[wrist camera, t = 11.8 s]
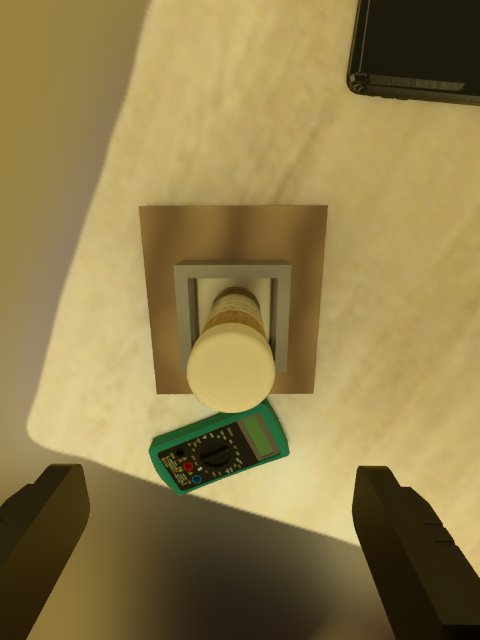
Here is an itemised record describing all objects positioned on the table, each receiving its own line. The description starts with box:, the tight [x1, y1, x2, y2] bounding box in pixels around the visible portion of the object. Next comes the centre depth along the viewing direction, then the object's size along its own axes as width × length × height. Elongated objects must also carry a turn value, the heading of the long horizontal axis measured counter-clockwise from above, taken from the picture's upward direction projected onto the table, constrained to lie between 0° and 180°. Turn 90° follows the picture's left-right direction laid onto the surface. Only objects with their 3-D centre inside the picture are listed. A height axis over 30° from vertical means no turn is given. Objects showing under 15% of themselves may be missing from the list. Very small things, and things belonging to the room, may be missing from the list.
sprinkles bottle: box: [187, 287, 275, 413], centre depth 21 cm, size 5×5×14 cm
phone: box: [347, 0, 480, 106], centre depth 24 cm, size 8×1×15 cm
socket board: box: [139, 205, 328, 394], centre depth 29 cm, size 16×18×2 cm
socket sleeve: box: [174, 260, 292, 372], centre depth 26 cm, size 9×9×4 cm
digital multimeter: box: [149, 398, 290, 495], centre depth 34 cm, size 7×15×3 cm, turn 115°
